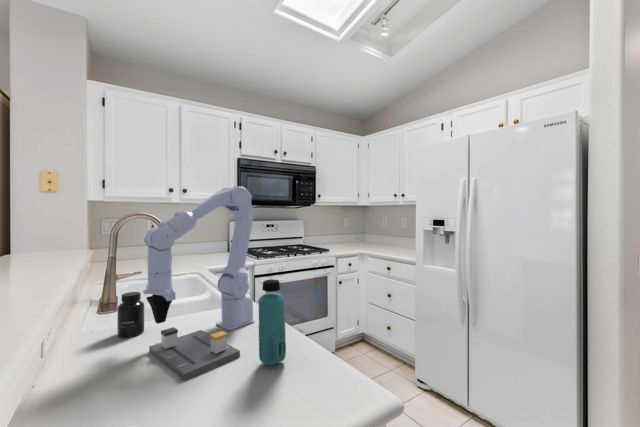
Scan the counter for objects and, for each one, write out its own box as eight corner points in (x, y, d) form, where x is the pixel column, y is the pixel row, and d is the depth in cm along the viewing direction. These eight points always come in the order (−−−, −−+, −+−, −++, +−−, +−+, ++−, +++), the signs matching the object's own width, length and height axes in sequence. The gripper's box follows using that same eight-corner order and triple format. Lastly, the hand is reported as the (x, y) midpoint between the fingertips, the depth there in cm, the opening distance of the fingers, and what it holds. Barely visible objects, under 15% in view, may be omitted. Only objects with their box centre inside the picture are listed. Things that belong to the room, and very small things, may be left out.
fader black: (173, 342, 80) (173, 327, 80) (178, 345, 78) (177, 329, 78) (161, 346, 78) (160, 330, 78) (165, 349, 76) (164, 333, 76)
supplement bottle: (123, 340, 85) (122, 298, 85) (113, 334, 89) (113, 294, 89) (148, 332, 91) (148, 293, 91) (138, 327, 95) (138, 289, 95)
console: (200, 335, 89) (200, 329, 89) (239, 356, 75) (239, 350, 75) (149, 352, 78) (149, 346, 78) (184, 380, 65) (184, 373, 65)
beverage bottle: (281, 372, 68) (280, 284, 68) (253, 369, 69) (252, 283, 69) (289, 358, 74) (289, 277, 74) (264, 356, 76) (263, 276, 75)
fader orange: (221, 346, 77) (221, 330, 77) (227, 349, 76) (227, 333, 76) (210, 350, 75) (209, 334, 75) (215, 354, 73) (215, 337, 73)
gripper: (134, 270, 83) (134, 319, 83) (154, 278, 74) (155, 333, 74) (161, 267, 89) (161, 313, 89) (183, 273, 79) (183, 325, 79)
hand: (160, 322), depth 82 cm, fingers closed
